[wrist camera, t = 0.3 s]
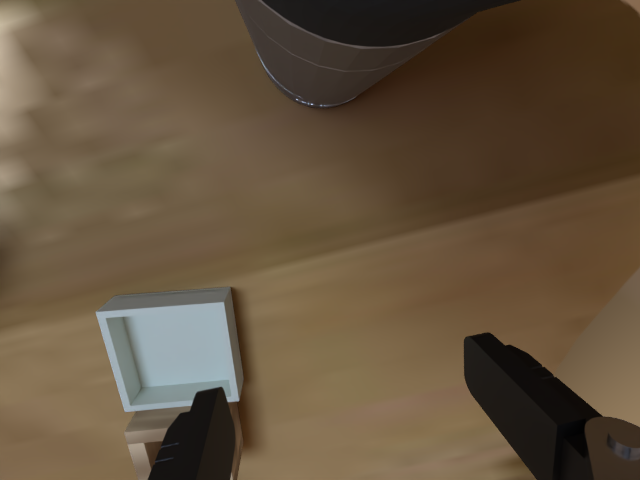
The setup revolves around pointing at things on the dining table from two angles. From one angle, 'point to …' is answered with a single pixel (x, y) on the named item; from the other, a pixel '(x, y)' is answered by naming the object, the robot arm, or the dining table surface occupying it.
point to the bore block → (151, 431)
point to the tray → (172, 346)
